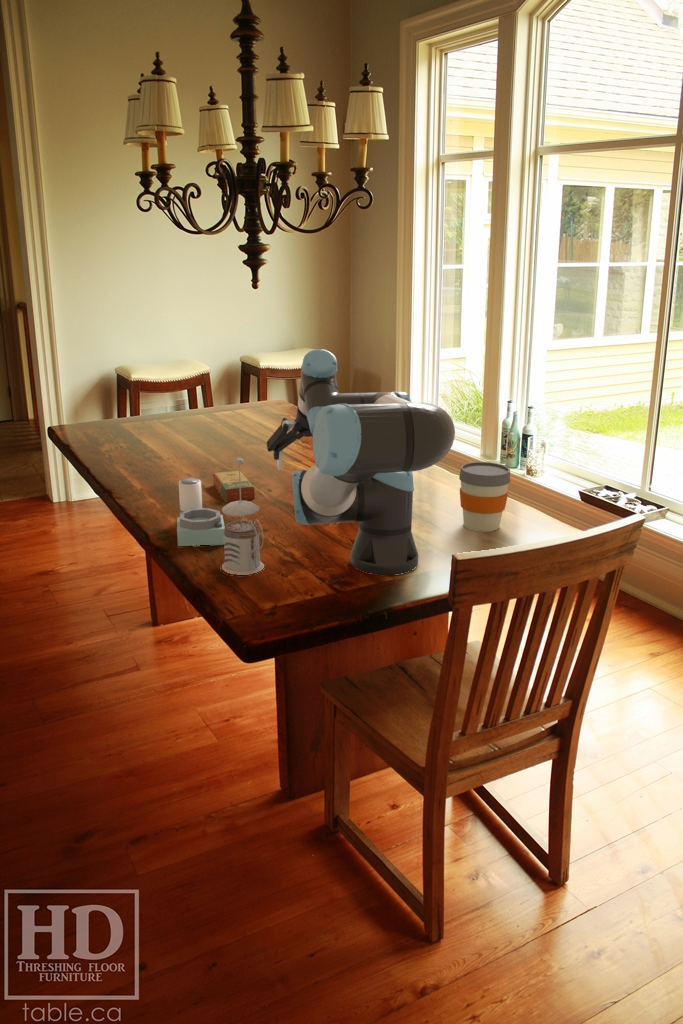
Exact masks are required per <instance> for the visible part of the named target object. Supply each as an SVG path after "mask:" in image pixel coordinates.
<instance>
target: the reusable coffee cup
mask: <svg viewBox="0 0 683 1024" xmlns="http://www.w3.org/2000/svg"><path fill="white" fill-rule="evenodd" d="M459 480H460V488H459V498H460V499H459V500H460V507H461V508H462V517H463V518H462V519H463V526H464V527H465V528H466V529H468V530H470V531H475V532H483V533H484V532H485V533H488V532H493V531H494V530H495V531H497V530H498V528H499V529H500V526H501V522H502V517H503V512H504V511H505V509H506V505H507V500H508V496H509V491H508V488H509V485H510V483H511V469H510V468H509V466H507V465H504V464H501V463H497V462H490V461H474V462H473V461H472V462H467V463H465V464H463V465H460V472H459Z"/></svg>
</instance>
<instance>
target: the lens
mask: <svg viewBox="0 0 683 1024" xmlns="http://www.w3.org/2000/svg"><path fill="white" fill-rule="evenodd" d="M178 495H179V496H178V497H179V499H178V500H179V514H180V513H182V512H184V511H187V510H190V509H199V508H204V507H203V498H202V497H203V496H202V495H203V494H202V481H201V479H198V478H194V477H190V478H189V477H187V478H186V477H185V478H183V479H180V480H179V481H178Z"/></svg>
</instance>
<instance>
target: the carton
mask: <svg viewBox="0 0 683 1024" xmlns="http://www.w3.org/2000/svg"><path fill="white" fill-rule="evenodd" d="M212 479H213V486H215V487H216V488H215V487H214V488H215V489H217V490H218V491H217V490H216V491H217V493H218V494H219V493H220V494H221V495H220V494H219V495H220V497H223V498H222V499H223V501H224V500H225V501H224V502H225V503H230V502H234V501H239V500H240V486H239V470H235V471H234V470H233V471H232V470H231V471H224V472H223V471H221V472H213V474H212ZM240 483H241V500H242V501H252V500H255V499H256V498H255V496H256V495H255V494H256V493H255V486H254V485H253V484H252V482H250V481H249V479H248V478H247V477H246V476H245V474H243V472H241V471H240Z"/></svg>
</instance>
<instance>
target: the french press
mask: <svg viewBox="0 0 683 1024" xmlns="http://www.w3.org/2000/svg"><path fill="white" fill-rule="evenodd" d="M234 464H235V465H238V471H239V486H240V500H239V501H234V502H228V503H227V504H225V506H224V505H223V507H222V508H221V512H222V513H223V514H224V515H226V516H228V517H235V518H236V517H238V518H240V520H234V521H231V522H228V523H227V524H226V525H224V527H225V532H224V543H225V545H224V546H223V547H224V548H223V549H224V562H223V563H222V565H221V566H222V569H223V570H224V571H225V572H227V573H230V574H237V575H249V574H253V573H257V572H259V571H261V570H262V569H263V568H264V566H265V564H264V563H263V562H262V561H261V550H262V548H263V546H264V542H265V536H264V530H263V527H262V526H263V525H262V524H261V522H260V521H259V520H258V518H254V519H253V520H254V522H253V521H251V520H249V519H248V520H243V519H242V518H244V517H249V516H253V515H255V514H257V513H258V512H259V511H260V509H261V508H260V506H259V505H257V504H255V503H253V502H252V501H251V500H243V501H242V500H241V483H240V472H241V465H244V464H245V460H244V459H243V458H242V457H241V458H240V457H238V458H236V459H235V460H234ZM256 522H257V523H256ZM258 524H259V526H258ZM258 527H260V529H261V533H262V542H260V531H259V529H258ZM252 535H255V536H253V537H250V538H249V536H252ZM242 537H248V538H242ZM252 541H253V542H252ZM260 543H261V546H260ZM252 546H253V547H252ZM264 569H265V568H264ZM264 569H263V570H264ZM261 572H262V571H261ZM259 573H260V572H259ZM257 574H258V573H257ZM249 576H250V575H249Z"/></svg>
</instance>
